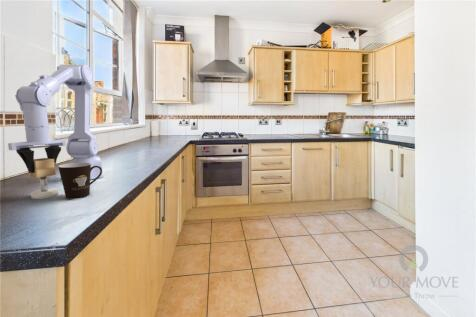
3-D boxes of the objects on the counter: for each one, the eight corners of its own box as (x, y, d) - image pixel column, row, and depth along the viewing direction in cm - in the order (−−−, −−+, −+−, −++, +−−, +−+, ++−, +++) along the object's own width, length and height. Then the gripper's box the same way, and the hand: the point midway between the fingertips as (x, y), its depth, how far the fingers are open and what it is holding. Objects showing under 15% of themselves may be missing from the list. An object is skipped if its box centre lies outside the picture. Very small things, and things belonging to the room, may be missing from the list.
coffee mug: (59, 201, 76) (56, 168, 75) (63, 194, 84) (60, 163, 82) (104, 196, 82) (101, 165, 80) (103, 189, 89) (101, 161, 88)
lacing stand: (54, 191, 87) (53, 187, 87) (61, 195, 83) (61, 190, 83) (28, 196, 82) (27, 191, 82) (35, 200, 77) (34, 195, 77)
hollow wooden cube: (47, 173, 85) (45, 157, 84) (55, 174, 82) (53, 159, 82) (29, 176, 80) (27, 160, 80) (37, 177, 78) (35, 161, 77)
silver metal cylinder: (46, 190, 83) (44, 171, 82) (48, 191, 82) (46, 172, 81) (40, 191, 82) (37, 172, 81) (42, 192, 81) (39, 173, 80)
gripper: (55, 126, 87) (59, 166, 89) (0, 127, 75) (7, 173, 77) (67, 126, 84) (71, 167, 86) (12, 127, 71) (18, 176, 73)
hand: (42, 170), depth 81 cm, fingers closed on hollow wooden cube, 5 cm apart
